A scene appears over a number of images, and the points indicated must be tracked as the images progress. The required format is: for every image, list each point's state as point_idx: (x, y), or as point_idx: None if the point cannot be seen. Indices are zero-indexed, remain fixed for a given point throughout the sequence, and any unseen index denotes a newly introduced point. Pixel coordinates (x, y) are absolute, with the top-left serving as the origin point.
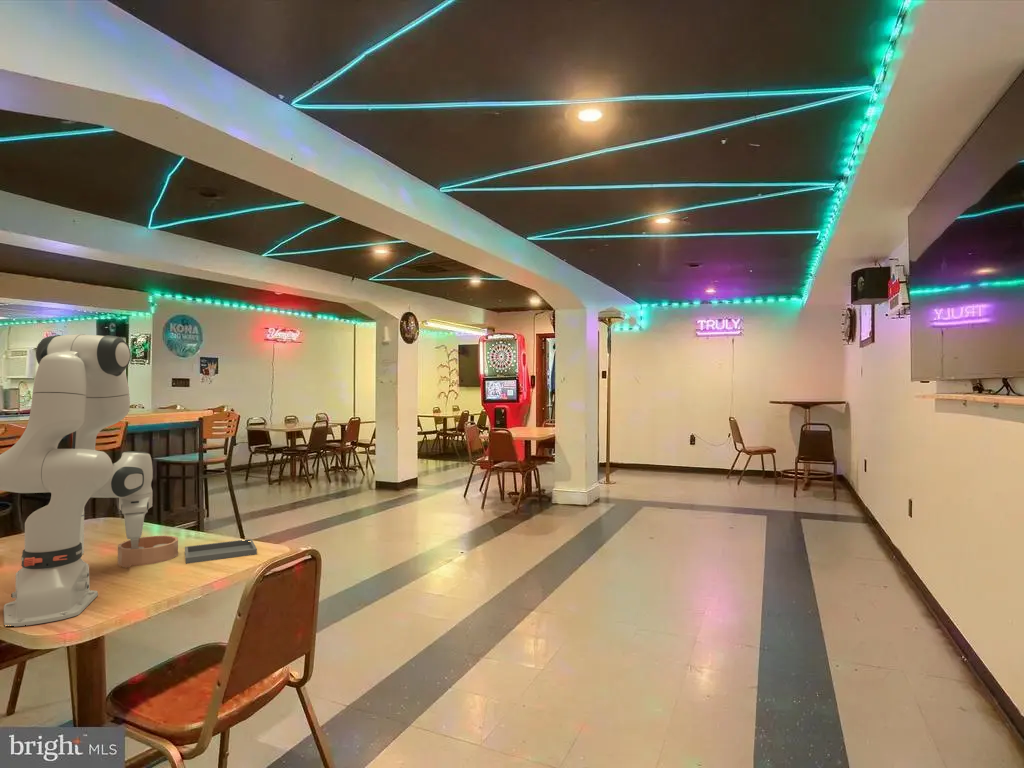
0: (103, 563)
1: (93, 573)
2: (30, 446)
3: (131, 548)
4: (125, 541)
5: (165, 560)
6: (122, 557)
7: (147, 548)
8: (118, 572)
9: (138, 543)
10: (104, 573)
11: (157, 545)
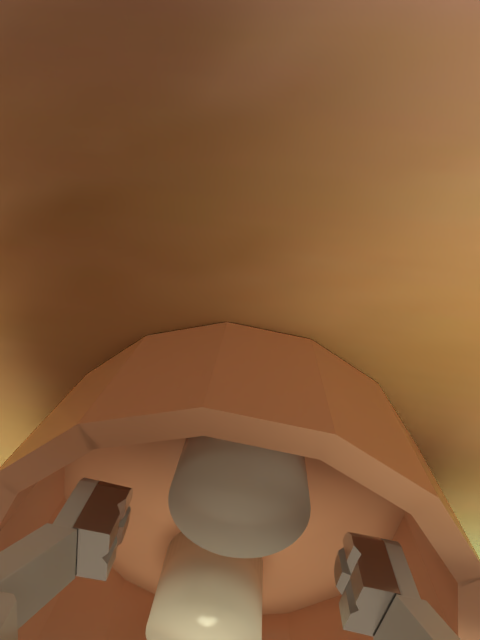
0: (361, 239)
1: (71, 126)
2: None
3: (74, 490)
4: (434, 510)
5: None
6: (112, 375)
7: None
8: (5, 293)
9: (335, 564)
10: (26, 205)
11: (226, 626)
